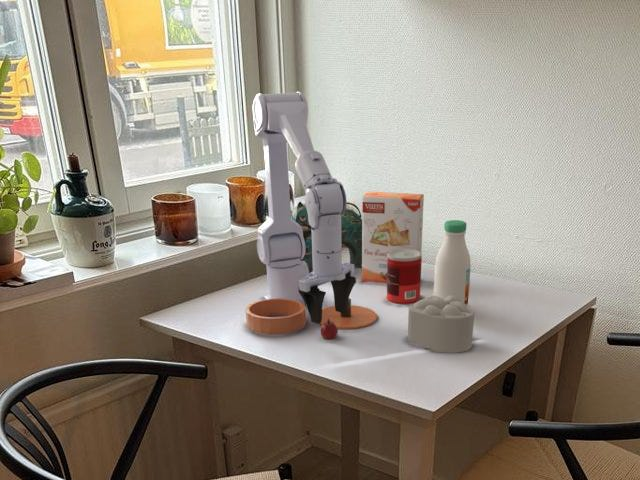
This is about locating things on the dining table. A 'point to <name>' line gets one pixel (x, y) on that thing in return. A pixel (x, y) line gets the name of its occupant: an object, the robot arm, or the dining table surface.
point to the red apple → (328, 330)
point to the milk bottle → (453, 263)
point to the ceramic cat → (349, 233)
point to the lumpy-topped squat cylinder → (441, 324)
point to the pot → (275, 324)
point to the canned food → (403, 276)
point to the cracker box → (388, 229)
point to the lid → (349, 316)
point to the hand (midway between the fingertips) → (328, 316)
